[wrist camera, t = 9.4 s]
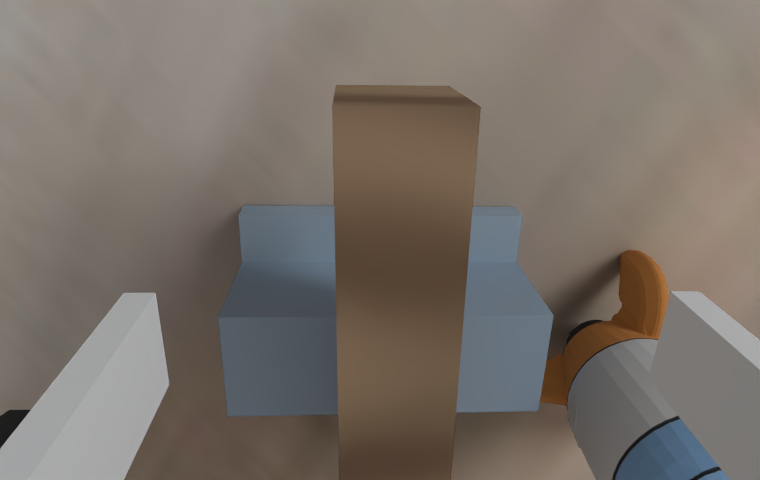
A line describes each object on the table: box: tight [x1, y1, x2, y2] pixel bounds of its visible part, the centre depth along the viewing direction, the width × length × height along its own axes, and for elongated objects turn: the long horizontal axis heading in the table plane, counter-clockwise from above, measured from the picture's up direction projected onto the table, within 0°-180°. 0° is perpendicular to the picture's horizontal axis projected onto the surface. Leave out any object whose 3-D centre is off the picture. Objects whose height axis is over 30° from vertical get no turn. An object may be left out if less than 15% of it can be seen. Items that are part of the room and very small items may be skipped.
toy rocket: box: [540, 250, 729, 480], centre depth 26 cm, size 10×11×15 cm
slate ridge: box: [218, 205, 554, 416], centre depth 27 cm, size 10×14×7 cm
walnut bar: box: [332, 85, 481, 480], centre depth 22 cm, size 24×4×5 cm, turn 179°
